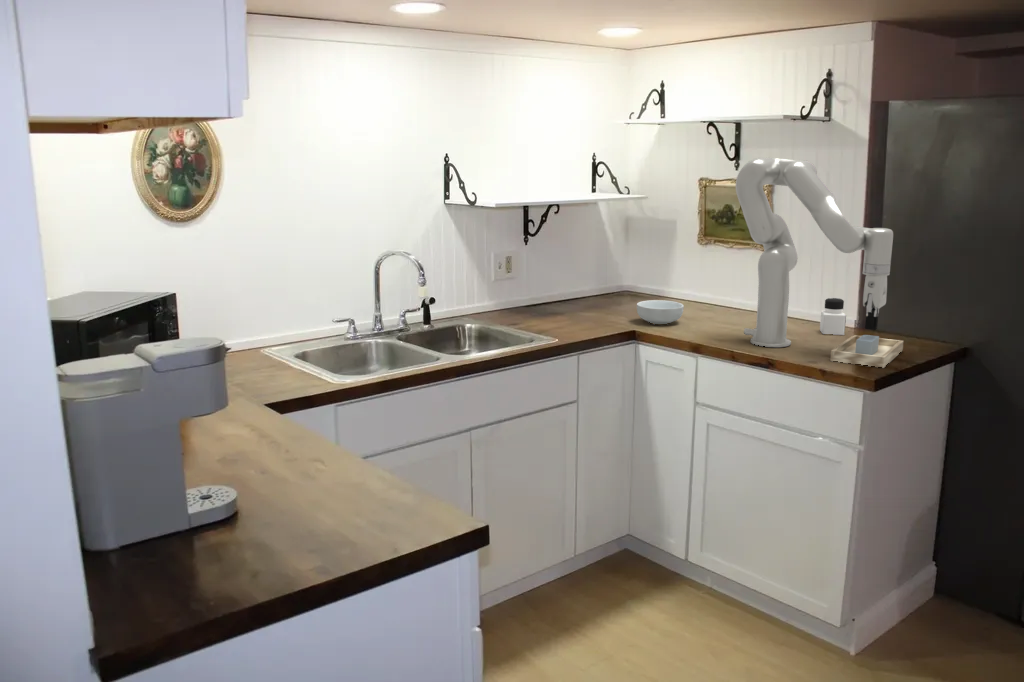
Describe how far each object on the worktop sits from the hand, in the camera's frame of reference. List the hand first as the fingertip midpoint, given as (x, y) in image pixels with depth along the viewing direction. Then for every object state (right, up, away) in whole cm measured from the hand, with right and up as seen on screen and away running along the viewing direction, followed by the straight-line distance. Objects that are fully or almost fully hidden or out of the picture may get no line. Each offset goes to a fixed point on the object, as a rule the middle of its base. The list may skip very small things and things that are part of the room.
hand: (871, 328), depth 257 cm
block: (+1, -4, +2) cm, 5 cm away
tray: (-1, -8, 0) cm, 8 cm away
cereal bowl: (-56, +3, +52) cm, 76 cm away
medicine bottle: (0, -1, +33) cm, 33 cm away
